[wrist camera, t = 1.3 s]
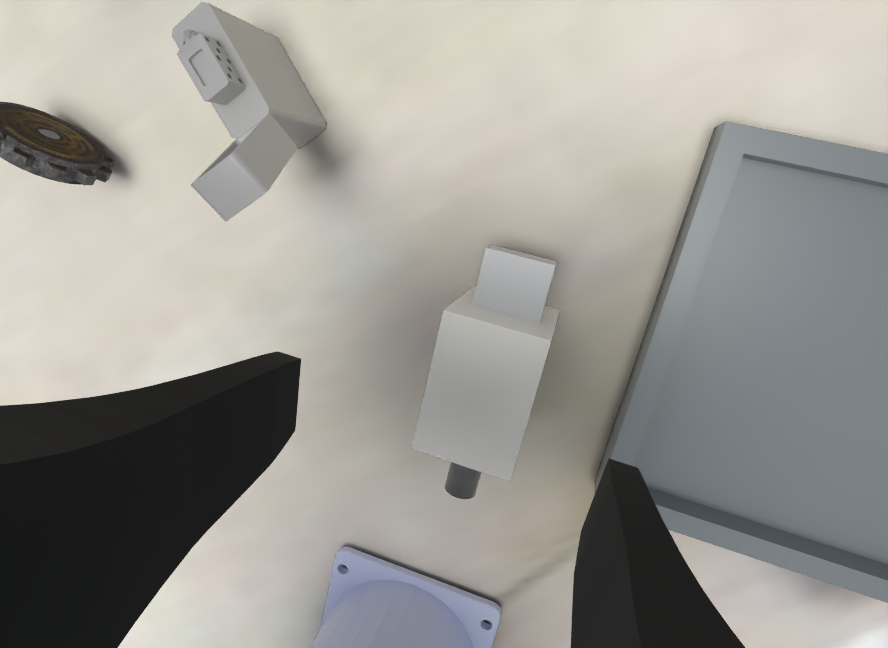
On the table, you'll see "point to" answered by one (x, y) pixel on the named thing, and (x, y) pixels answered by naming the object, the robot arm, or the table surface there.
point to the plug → (487, 369)
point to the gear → (50, 146)
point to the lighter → (245, 104)
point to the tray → (772, 361)
